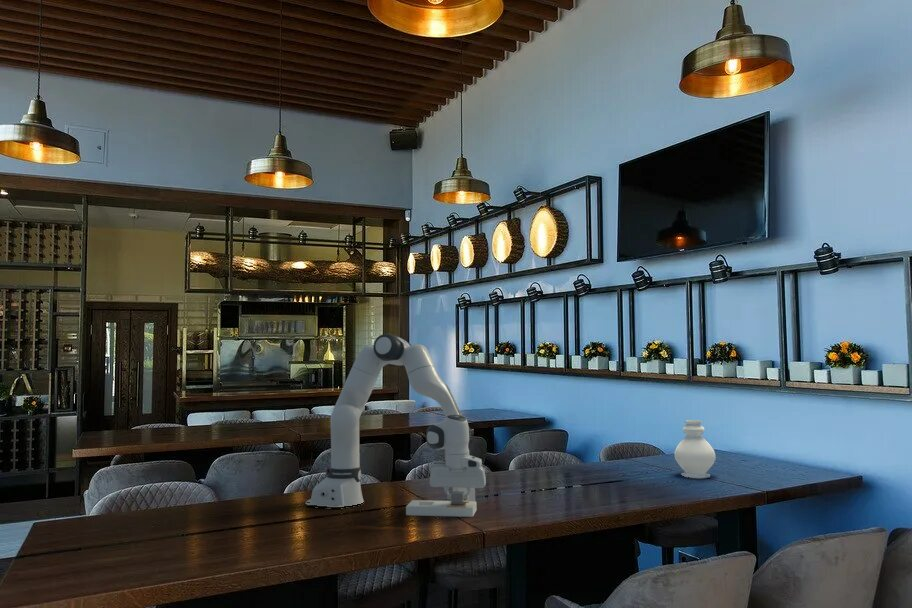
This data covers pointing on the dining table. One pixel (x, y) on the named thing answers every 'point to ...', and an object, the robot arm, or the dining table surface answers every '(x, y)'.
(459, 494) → the dark gray block
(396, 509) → the dining table surface
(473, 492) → the milk carton
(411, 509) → the socket rail
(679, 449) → the decorative vase
